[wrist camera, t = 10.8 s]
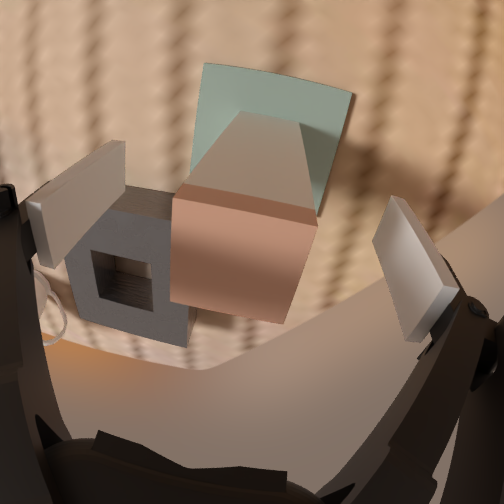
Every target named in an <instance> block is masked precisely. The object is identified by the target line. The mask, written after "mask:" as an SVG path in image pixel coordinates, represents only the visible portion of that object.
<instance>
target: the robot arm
mask: <svg viewBox="0 0 504 504" xmlns="http://www.w3.org/2000/svg"><path fill="white" fill-rule="evenodd" d="M124 192H125V141H118V140H111V141H110V142H108V143H106V144H105V145H103V146H102V147H100V148H98V149H97V150H95V151H94V152H92V153H90V154H89V155H87V156H86V157H84V158H83V159H81V160H80V161H78V162H77V163H75V164H74V165H72V166H71V167H70V168H68V169H67V170H65V171H64V172H62V173H61V174H60V175H58V176H57V177H55V178H54V179H53V180H51V181H48V182H47V183H45V184H44V185H43V186H41V187H40V189H37V190H36V191H35V192H34V193H32V194H31V195H30V196H28V197H27V198H26V199H25V200H23V201H22V202H21V203H20V204H18V202H17V197H16V192H15V187H14V185H12V184H2V185H0V504H429V502H430V501H431V499H432V497H433V495H434V493H435V491H436V488H437V481H436V480H435V479H433V478H432V474H433V472H434V470H435V468H436V466H437V464H438V462H439V460H440V458H441V456H442V454H443V452H444V450H445V448H446V446H447V443H448V441H449V439H450V437H451V434H452V432H453V430H454V427H455V425H456V423H457V420H458V418H459V423H458V430H457V435H456V441H455V447H454V451H453V456H452V460H451V465H450V469H449V473H448V477H447V481H446V484H445V488H444V492H443V495H442V498H441V502H440V504H504V316H503V317H502V318H501V320H500V321H499V322H498V323H497V322H495V321H493V320H491V319H489V314H488V312H487V309H486V308H485V307H484V305H483V304H482V303H481V302H480V301H479V300H477V299H475V298H474V297H471V296H467V295H466V293H465V291H464V289H463V288H462V286H461V284H460V282H459V280H458V279H457V278H456V275H455V273H454V272H453V270H452V268H451V266H450V264H449V263H448V261H447V260H446V259H445V258H444V257H443V256H442V255H441V254H440V253H439V251H438V250H437V248H436V246H435V245H434V243H433V241H432V240H431V238H430V237H429V235H428V233H427V232H426V230H425V229H424V227H423V226H422V224H421V223H420V221H419V220H418V218H417V217H416V215H415V214H414V212H413V211H412V209H411V208H410V206H409V205H408V203H407V202H406V200H405V199H403V198H400V197H397V196H393V195H391V197H390V199H389V202H388V204H387V207H386V209H385V212H384V214H383V217H382V219H381V221H380V224H379V226H378V229H377V231H376V233H375V236H374V238H373V240H372V242H373V245H374V248H375V250H376V253H377V256H378V258H379V261H380V264H381V267H382V270H383V272H384V275H385V278H386V281H387V284H388V287H389V290H390V293H391V296H392V299H393V302H394V305H395V309H396V312H397V315H398V319H399V322H400V325H401V329H402V332H403V335H404V339H405V341H410V342H419V343H421V342H422V341H423V339H424V338H425V337H426V336H427V334H428V333H429V332H430V334H431V337H432V341H431V342H430V343H429V344H428V346H427V347H426V348H425V349H424V351H423V352H422V353H421V354H420V355H419V356H418V358H417V359H418V360H419V362H418V363H417V365H416V366H415V368H414V370H413V371H412V373H411V375H410V377H409V378H408V380H407V381H406V383H405V385H404V386H403V388H402V389H401V391H400V392H399V394H398V395H397V397H396V398H395V400H394V401H393V403H392V404H391V406H390V407H389V409H388V410H387V412H386V413H385V415H384V416H383V417H382V419H381V420H380V422H379V423H378V424H377V426H376V427H375V428H374V430H373V431H372V433H371V434H370V435H369V436H368V438H367V439H366V440H365V442H364V443H363V444H362V446H361V447H360V448H359V449H358V450H357V452H356V453H355V454H354V455H353V457H352V458H351V459H350V460H349V461H348V462H347V464H346V465H345V466H344V467H343V468H342V469H341V471H340V472H339V473H338V474H337V475H336V476H335V477H334V478H333V479H332V480H331V481H329V482H328V483H327V484H326V485H325V486H323V487H322V488H321V489H320V490H319V491H318V492H317V493H316V494H315V495H314V494H313V493H312V492H310V491H309V490H307V489H305V488H303V487H302V486H299V485H297V484H295V483H293V482H290V481H287V471H276V470H266V469H257V468H249V467H241V466H238V467H224V468H204V469H203V468H202V469H190V468H186V467H183V466H181V465H179V464H177V463H175V462H173V461H171V460H169V459H167V458H165V457H163V456H161V455H159V454H157V453H156V452H154V451H152V450H150V449H149V448H147V447H145V446H143V445H141V444H138V443H135V442H132V441H129V440H125V439H123V438H120V437H117V436H114V435H111V434H108V433H105V432H103V431H100V430H98V433H97V435H96V438H95V439H93V438H90V439H89V438H88V439H87V438H81V439H72V438H71V435H70V433H69V432H68V430H67V428H66V426H65V424H64V422H63V420H62V417H61V414H60V411H59V408H58V404H57V401H56V397H55V394H54V390H53V386H52V382H51V378H50V375H49V370H48V365H47V361H46V356H45V351H44V346H43V340H42V335H41V329H40V322H39V316H38V308H37V300H36V291H35V281H34V268H33V263H32V260H31V258H32V257H33V256H34V254H35V253H36V252H37V256H38V259H39V263H40V265H42V266H45V267H49V268H52V269H55V268H56V267H57V266H58V265H59V263H60V262H61V261H62V260H63V259H64V257H65V256H66V255H67V254H68V253H69V251H70V250H71V249H72V248H73V247H74V246H75V244H76V243H77V242H78V241H79V240H80V239H81V238H82V237H83V235H84V234H85V233H86V232H87V231H88V230H89V229H90V228H91V226H92V225H93V224H94V223H95V222H96V221H97V220H98V219H99V218H100V217H101V216H102V215H103V214H104V212H105V211H106V210H107V209H108V208H109V207H110V206H111V205H112V204H113V203H114V202H115V201H116V200H117V199H118V198H119V197H120V196H121V195H122V194H123V193H124ZM494 370H495V371H494ZM493 371H494V373H493ZM459 416H460V417H459Z"/></svg>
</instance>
